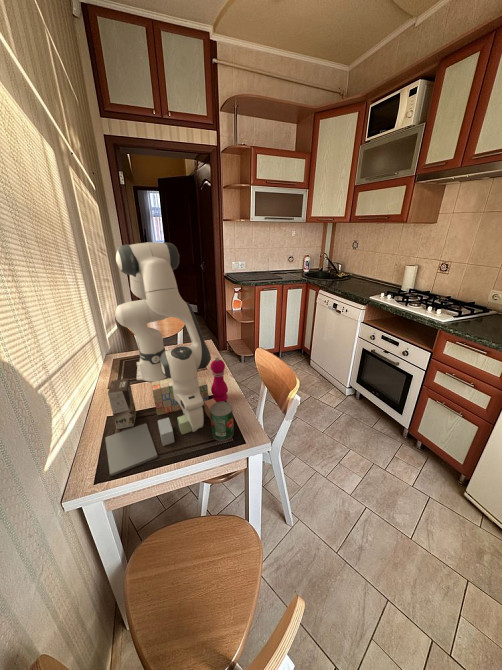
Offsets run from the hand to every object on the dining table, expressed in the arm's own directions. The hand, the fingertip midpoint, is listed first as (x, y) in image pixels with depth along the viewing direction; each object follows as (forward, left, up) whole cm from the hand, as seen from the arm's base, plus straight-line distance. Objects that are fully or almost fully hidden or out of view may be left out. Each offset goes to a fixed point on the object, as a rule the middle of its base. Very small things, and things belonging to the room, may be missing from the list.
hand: (190, 423), depth 101 cm
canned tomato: (+9, +9, -2) cm, 13 cm away
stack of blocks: (-15, +2, -2) cm, 15 cm away
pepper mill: (-11, +17, -2) cm, 20 cm away
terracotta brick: (-2, +10, -2) cm, 10 cm away
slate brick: (0, -9, -2) cm, 9 cm away
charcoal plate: (-1, -21, -2) cm, 21 cm away
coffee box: (-17, -20, -2) cm, 26 cm away
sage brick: (0, 0, -2) cm, 2 cm away
